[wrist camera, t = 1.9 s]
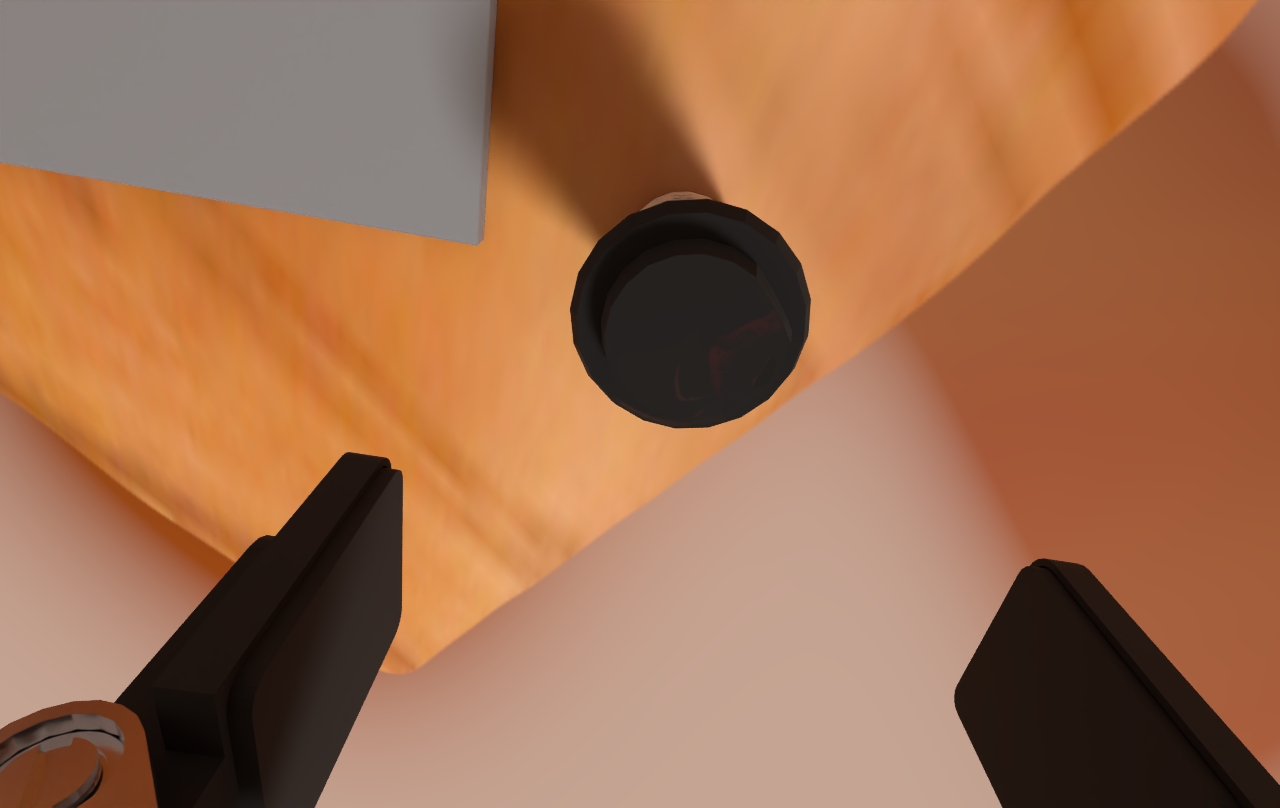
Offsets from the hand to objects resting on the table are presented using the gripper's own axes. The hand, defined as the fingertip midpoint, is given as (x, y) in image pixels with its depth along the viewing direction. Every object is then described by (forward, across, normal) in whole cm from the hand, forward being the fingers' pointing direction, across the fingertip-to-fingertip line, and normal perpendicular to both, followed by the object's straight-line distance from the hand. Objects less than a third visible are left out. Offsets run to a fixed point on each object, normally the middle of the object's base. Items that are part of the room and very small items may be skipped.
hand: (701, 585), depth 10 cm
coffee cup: (+19, 0, -1) cm, 19 cm away
